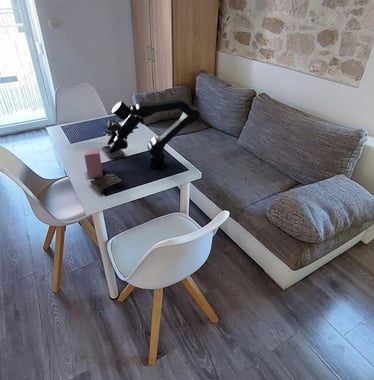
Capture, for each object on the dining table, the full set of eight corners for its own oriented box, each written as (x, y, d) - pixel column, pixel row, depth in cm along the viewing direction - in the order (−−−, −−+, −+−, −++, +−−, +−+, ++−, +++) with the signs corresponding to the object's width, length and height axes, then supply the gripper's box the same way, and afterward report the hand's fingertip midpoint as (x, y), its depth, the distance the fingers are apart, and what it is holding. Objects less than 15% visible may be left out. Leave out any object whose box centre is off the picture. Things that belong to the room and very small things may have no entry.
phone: (110, 157, 169) (102, 146, 180) (111, 159, 170) (102, 148, 180) (124, 154, 173) (115, 143, 183) (124, 156, 173) (115, 145, 184)
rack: (112, 177, 155) (112, 172, 153) (123, 186, 148) (122, 180, 147) (90, 186, 148) (89, 180, 146) (100, 195, 142) (99, 190, 140)
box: (102, 170, 160) (98, 147, 153) (103, 176, 155) (99, 153, 148) (88, 172, 158) (84, 149, 151) (88, 178, 154) (84, 155, 146)
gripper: (113, 108, 151) (94, 131, 154) (117, 122, 136) (95, 147, 139) (131, 121, 157) (112, 144, 161) (137, 136, 142) (115, 160, 146)
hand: (108, 148), depth 151 cm, fingers open, 9 cm apart
